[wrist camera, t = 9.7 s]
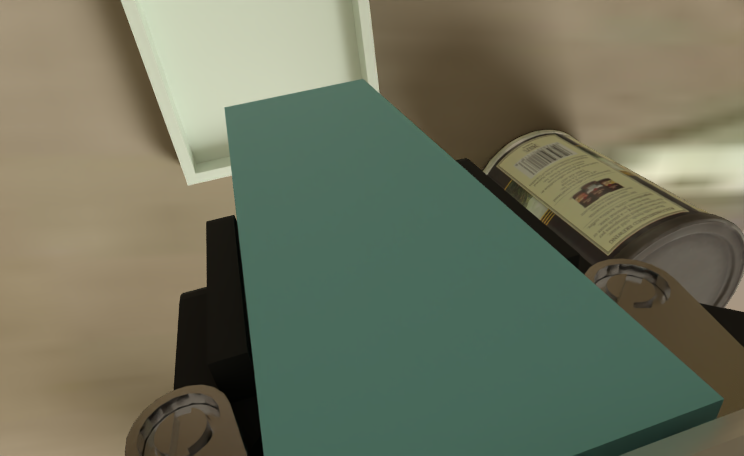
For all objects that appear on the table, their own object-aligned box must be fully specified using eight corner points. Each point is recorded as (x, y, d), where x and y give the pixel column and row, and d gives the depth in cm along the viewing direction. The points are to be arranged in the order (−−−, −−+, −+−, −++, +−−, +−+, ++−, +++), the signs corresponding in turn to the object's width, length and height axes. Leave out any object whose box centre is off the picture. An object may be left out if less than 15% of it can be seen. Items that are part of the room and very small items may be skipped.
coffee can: (521, 265, 43) (639, 389, 31) (445, 208, 37) (553, 332, 26) (610, 175, 40) (773, 273, 29) (542, 100, 35) (708, 183, 23)
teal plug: (363, 78, 14) (723, 399, 4) (378, 198, 16) (645, 597, 6) (224, 107, 14) (277, 567, 4) (259, 228, 16) (354, 727, 6)
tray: (347, -87, 26) (358, -88, 24) (374, 128, 32) (384, 140, 31) (110, -52, 24) (102, -51, 22) (189, 169, 30) (188, 185, 29)
